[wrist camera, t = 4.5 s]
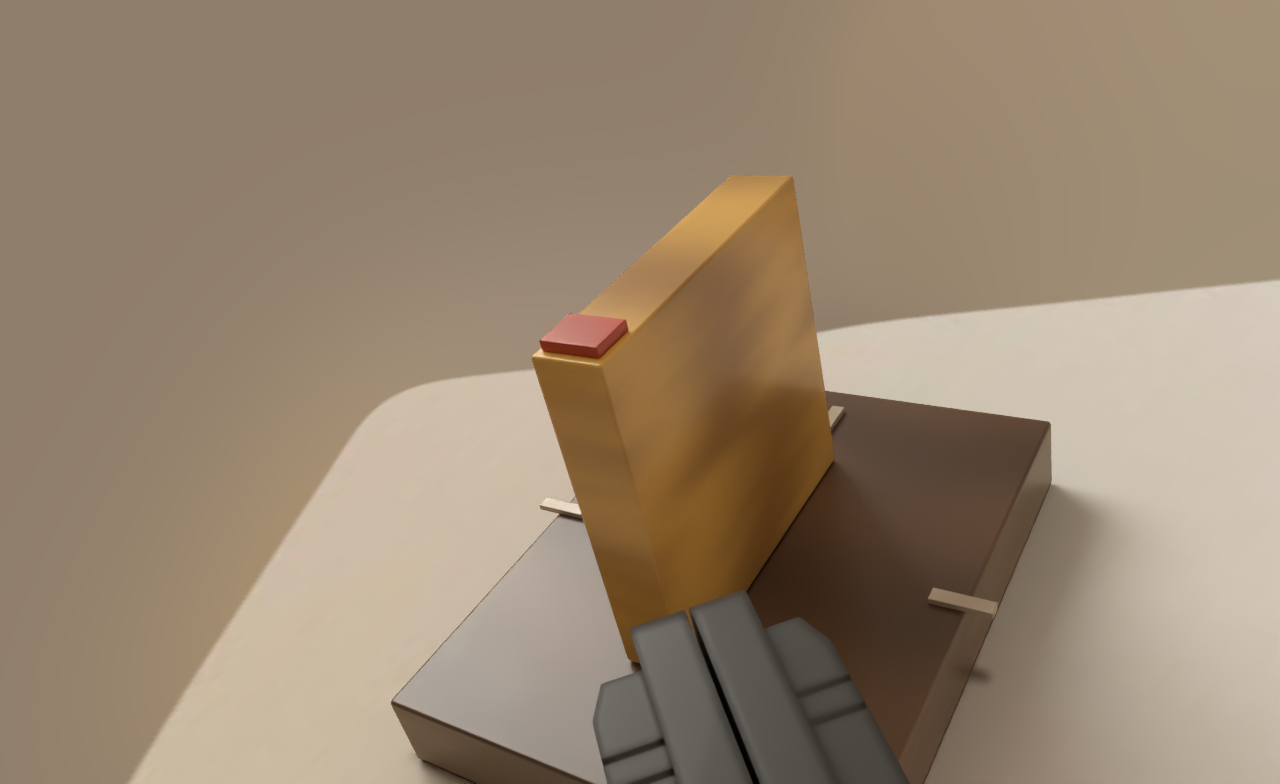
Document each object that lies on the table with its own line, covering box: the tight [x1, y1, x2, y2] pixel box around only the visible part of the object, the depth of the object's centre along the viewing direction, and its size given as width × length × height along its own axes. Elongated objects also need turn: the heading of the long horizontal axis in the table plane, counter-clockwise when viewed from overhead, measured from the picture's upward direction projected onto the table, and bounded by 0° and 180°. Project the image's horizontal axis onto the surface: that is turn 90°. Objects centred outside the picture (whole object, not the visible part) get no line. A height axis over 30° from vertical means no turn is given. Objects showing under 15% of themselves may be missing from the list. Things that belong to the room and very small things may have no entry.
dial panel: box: [391, 391, 1052, 784], centre depth 26 cm, size 14×12×2 cm
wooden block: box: [532, 175, 835, 664], centre depth 23 cm, size 8×2×8 cm, turn 148°
